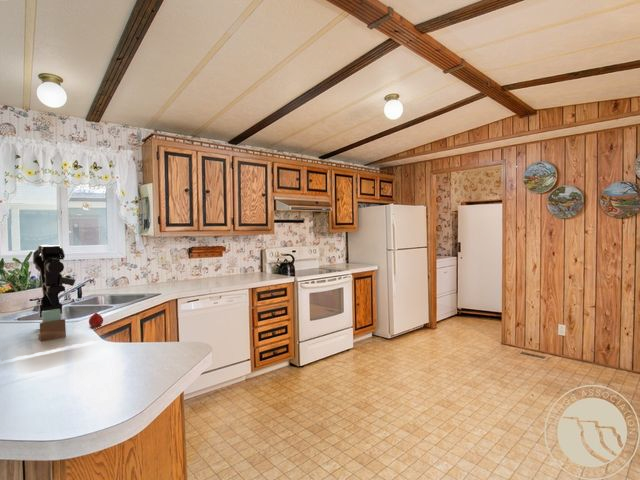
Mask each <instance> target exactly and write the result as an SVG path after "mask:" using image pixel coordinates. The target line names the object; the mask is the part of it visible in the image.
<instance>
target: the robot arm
mask: <svg viewBox="0 0 640 480" xmlns="http://www.w3.org/2000/svg"><path fill="white" fill-rule="evenodd" d="M65 256H66V255H65V251H64V249H63V246H62V247H61V246H60V244H59V245H58V244H57V245H56V244H55V245H53V244H52V245H50V244H41V245H38V247H37V249H36V250H35V251H34V252H33V255H32V264H34V267H35V269H36V270H37V271H38V272H39V274H40V283H41V290H42V297H41V299H40V302H39V305H38V311H37V312H38V317H39V318H42V311H47V310H54V309H60V313H61V314H63V304H62V302H61V301H60V299H59V294H61V293H62V292H66V286H64V285H67V286H70V287H71V286H72V287H73V286H74V285H75V282H76V279H75V278H73V277H71V275H65V276H63V275H62V272H63V271H64V269H65V265H64V264H63V262H61V261H62V260H63V261H64V260H65V258H66V257H65Z"/></svg>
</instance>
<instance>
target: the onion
mask: <svg viewBox="0 0 640 480" xmlns="http://www.w3.org/2000/svg"><path fill="white" fill-rule="evenodd" d="M88 323H89V325H90V326H91V327H92V328H98V327H100V326H102V325H103V323H104V318H103V317H102V316H101V314H98V311H96V312H94V313H93V315H91V316H90V317H89V319H88Z"/></svg>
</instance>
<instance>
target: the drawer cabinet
mask: <svg viewBox="0 0 640 480" xmlns="http://www.w3.org/2000/svg"><path fill="white" fill-rule="evenodd" d="M37 336H38V337H37V338H38V339H39V341H40V342H41V343H43V342H47V341H48V342H49V341H52V340H57V339H58V340H59V339H62V338H66V337H67V331H66V319H65V318H64V319H61V320H56V321H50V322H44V323H42V322H39V333H38V334H37Z"/></svg>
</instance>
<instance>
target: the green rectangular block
mask: <svg viewBox="0 0 640 480" xmlns="http://www.w3.org/2000/svg"><path fill="white" fill-rule="evenodd" d="M41 314H42V317H41V319H42V320H41V321H42V322H41V323H44V322H50V321H56V320H62V319H61V318H62V316H61V315H62V313H60V309H54V310H47V311H42V313H41Z"/></svg>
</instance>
